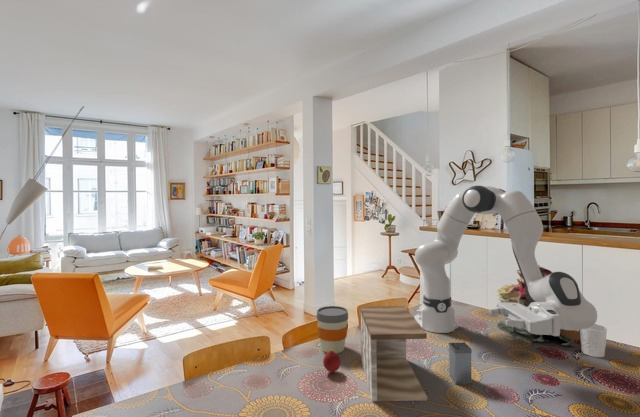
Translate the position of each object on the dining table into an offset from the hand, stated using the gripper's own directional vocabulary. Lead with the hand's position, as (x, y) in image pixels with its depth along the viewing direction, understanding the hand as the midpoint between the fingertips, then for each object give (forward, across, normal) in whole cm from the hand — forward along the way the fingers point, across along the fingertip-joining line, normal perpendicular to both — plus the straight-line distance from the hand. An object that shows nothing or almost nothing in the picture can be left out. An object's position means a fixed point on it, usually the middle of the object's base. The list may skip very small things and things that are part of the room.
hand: (497, 317), depth 110 cm
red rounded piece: (+53, -6, +20) cm, 57 cm away
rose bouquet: (-33, -38, +20) cm, 54 cm away
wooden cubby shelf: (+34, -2, +20) cm, 40 cm away
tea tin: (+12, 0, +20) cm, 23 cm away
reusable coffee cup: (+52, -25, +20) cm, 61 cm away
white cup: (-44, -17, +20) cm, 51 cm away
